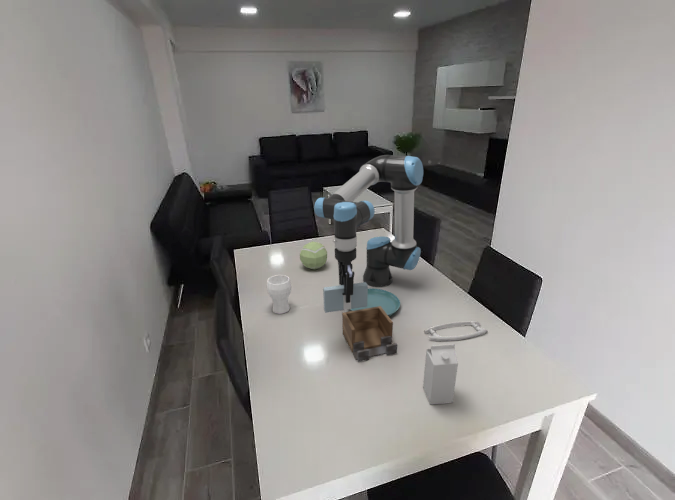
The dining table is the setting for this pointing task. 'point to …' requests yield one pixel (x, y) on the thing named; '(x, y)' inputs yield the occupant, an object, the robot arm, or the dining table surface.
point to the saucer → (381, 301)
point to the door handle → (452, 338)
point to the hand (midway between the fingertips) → (346, 306)
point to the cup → (279, 292)
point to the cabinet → (368, 333)
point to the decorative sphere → (313, 255)
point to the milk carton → (440, 373)
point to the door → (335, 297)
